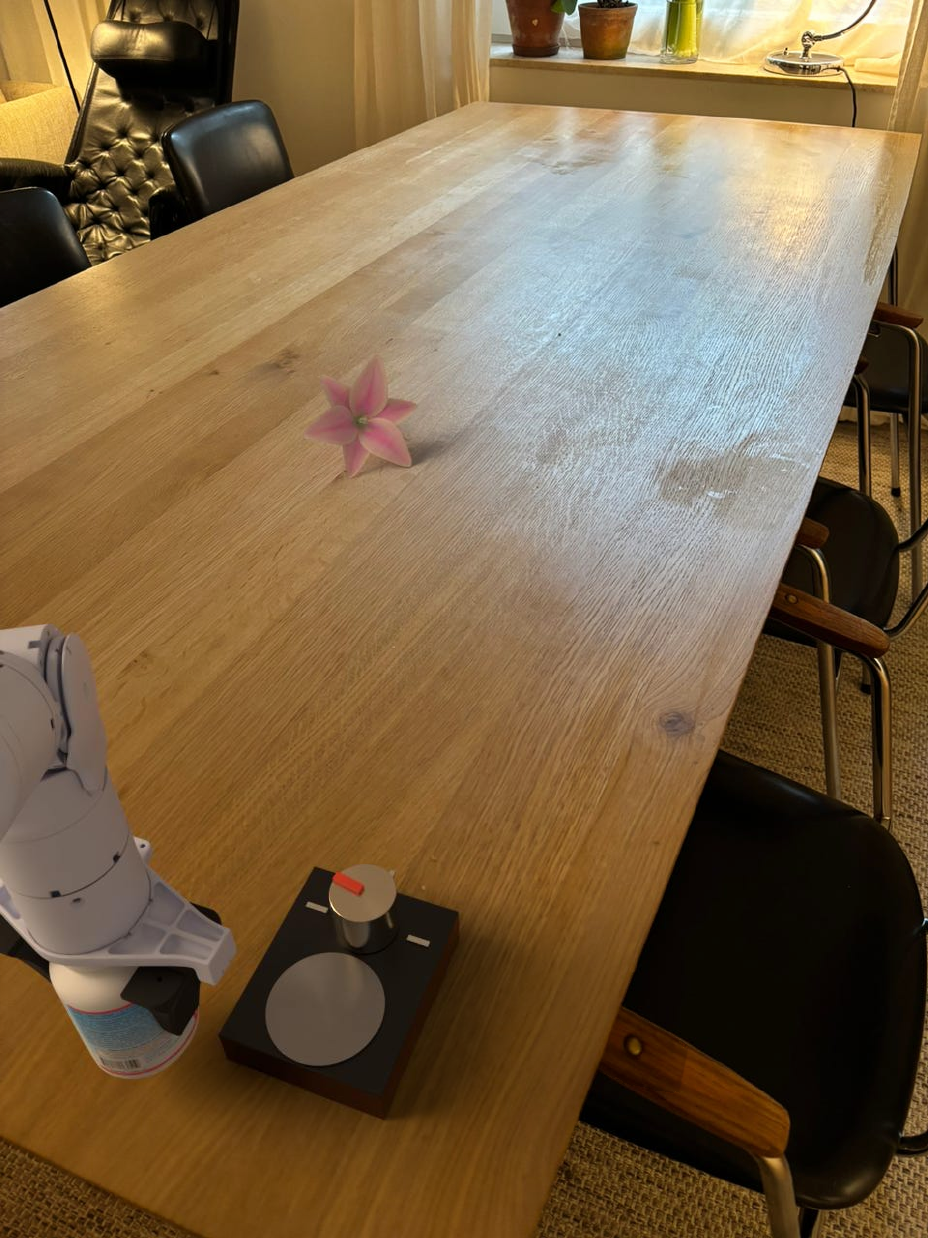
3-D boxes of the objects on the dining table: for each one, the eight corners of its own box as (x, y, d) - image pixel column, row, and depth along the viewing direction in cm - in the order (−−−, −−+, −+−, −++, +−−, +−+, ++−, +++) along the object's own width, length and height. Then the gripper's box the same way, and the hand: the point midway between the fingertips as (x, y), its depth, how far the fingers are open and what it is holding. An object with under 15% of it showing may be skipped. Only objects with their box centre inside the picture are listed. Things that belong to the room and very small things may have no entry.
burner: (354, 1085, 53) (354, 1083, 53) (243, 1043, 55) (243, 1041, 55) (403, 975, 58) (403, 973, 58) (300, 940, 60) (299, 938, 60)
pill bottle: (223, 1012, 57) (184, 899, 49) (144, 1105, 53) (89, 997, 45) (147, 961, 59) (100, 846, 52) (66, 1045, 55) (3, 934, 48)
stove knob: (412, 914, 61) (409, 878, 59) (375, 965, 59) (371, 930, 56) (358, 886, 63) (353, 850, 60) (321, 935, 60) (314, 899, 58)
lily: (290, 481, 106) (303, 430, 98) (307, 393, 111) (321, 338, 103) (399, 507, 109) (420, 459, 100) (411, 420, 114) (432, 368, 105)
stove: (384, 1121, 55) (380, 1096, 53) (226, 1060, 58) (217, 1033, 55) (467, 921, 64) (466, 893, 62) (328, 876, 67) (323, 848, 65)
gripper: (249, 821, 46) (286, 976, 55) (-6, 742, 50) (68, 898, 58) (163, 951, 41) (220, 1098, 50) (-113, 852, 45) (-15, 1005, 53)
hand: (132, 998), depth 54 cm, fingers closed on pill bottle, 6 cm apart
